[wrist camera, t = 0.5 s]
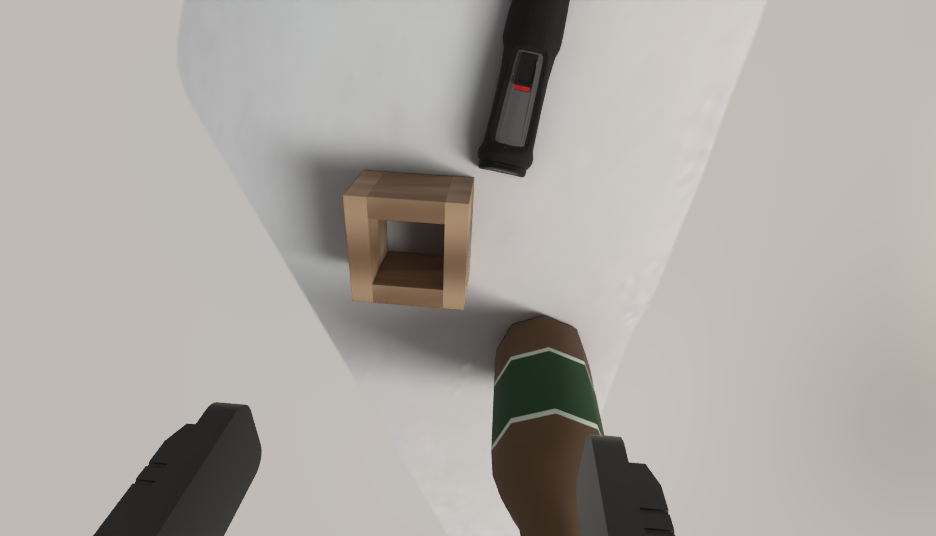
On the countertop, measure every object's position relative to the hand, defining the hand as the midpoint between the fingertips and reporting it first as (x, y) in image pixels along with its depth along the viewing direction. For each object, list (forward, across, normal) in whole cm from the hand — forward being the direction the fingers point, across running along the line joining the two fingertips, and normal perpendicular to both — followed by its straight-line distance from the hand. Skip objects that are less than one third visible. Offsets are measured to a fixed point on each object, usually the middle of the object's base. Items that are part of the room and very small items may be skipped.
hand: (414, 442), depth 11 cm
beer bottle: (+25, -6, +18) cm, 31 cm away
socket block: (+25, +4, +7) cm, 26 cm away
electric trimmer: (+26, -3, -5) cm, 27 cm away
